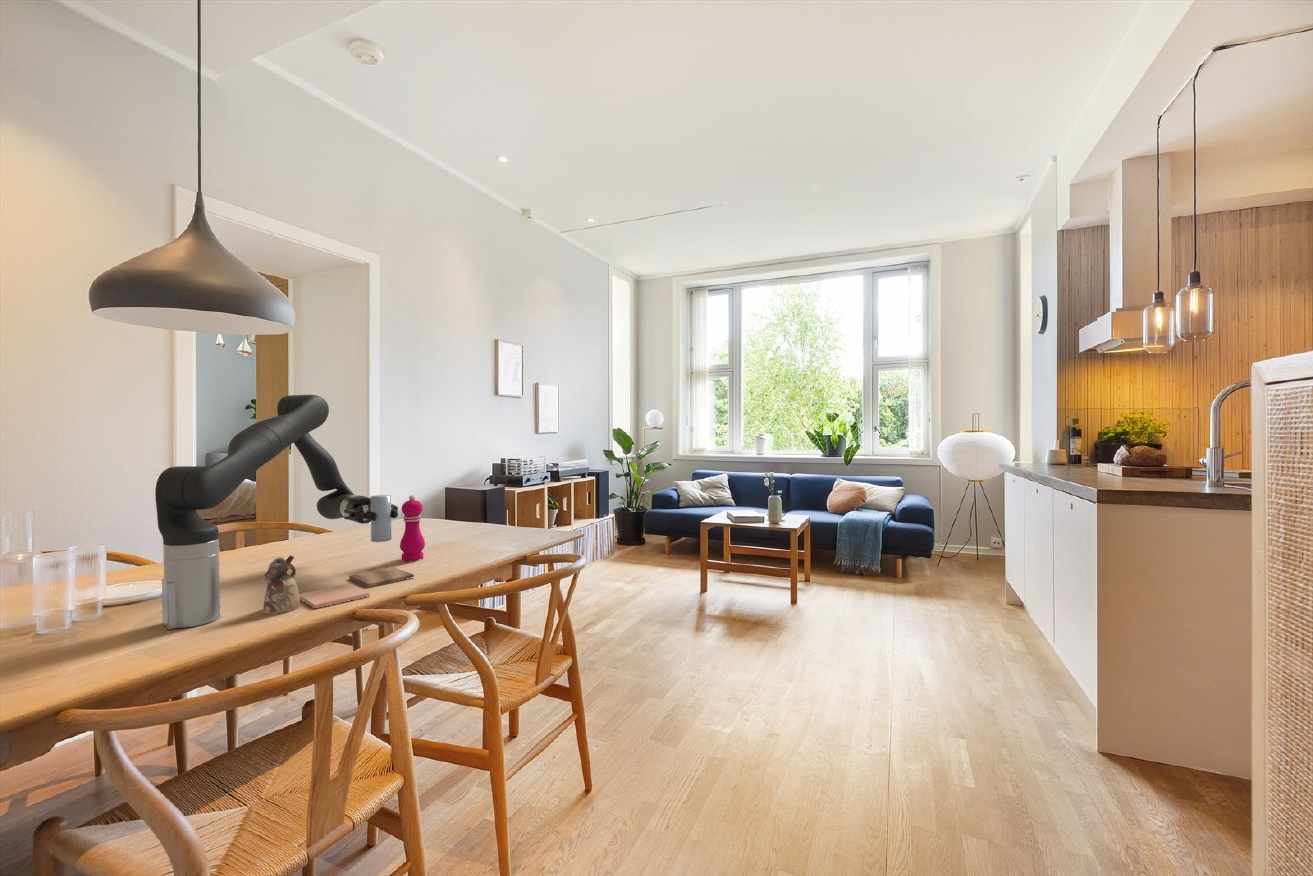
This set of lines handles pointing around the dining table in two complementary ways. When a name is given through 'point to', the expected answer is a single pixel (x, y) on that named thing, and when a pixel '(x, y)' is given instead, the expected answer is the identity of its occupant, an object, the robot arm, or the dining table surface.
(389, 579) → the walnut board
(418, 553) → the pepper mill
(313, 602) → the terracotta tile
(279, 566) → the figurine
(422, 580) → the dining table surface
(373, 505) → the canister
